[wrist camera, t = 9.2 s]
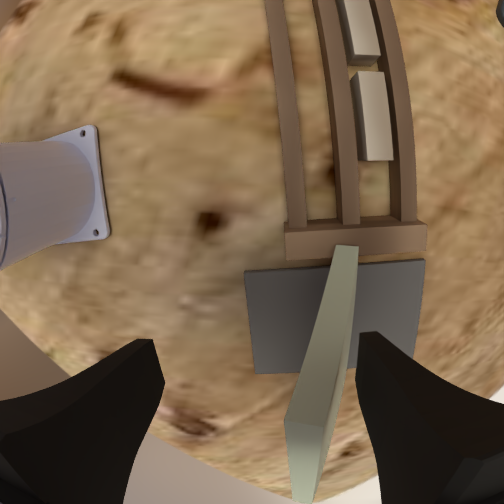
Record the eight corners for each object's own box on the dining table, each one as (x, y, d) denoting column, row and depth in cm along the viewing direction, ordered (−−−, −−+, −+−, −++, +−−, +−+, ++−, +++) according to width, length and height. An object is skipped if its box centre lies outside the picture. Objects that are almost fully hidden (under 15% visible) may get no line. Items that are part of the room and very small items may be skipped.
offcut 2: (357, 160, 18) (367, 160, 16) (348, 81, 17) (358, 71, 14) (380, 159, 18) (393, 160, 15) (372, 81, 16) (383, 72, 14)
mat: (255, 370, 23) (255, 373, 22) (244, 270, 20) (243, 273, 20) (410, 357, 21) (412, 360, 21) (423, 258, 19) (425, 260, 19)
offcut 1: (346, 66, 16) (354, 54, 14) (334, 1, 15) (339, -17, 12) (369, 66, 16) (380, 55, 14) (356, 2, 15) (364, -15, 12)
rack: (286, 245, 20) (286, 260, 17) (253, -49, 14) (248, -72, 11) (407, 237, 19) (426, 250, 16) (366, -49, 13) (375, -70, 10)
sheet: (329, 380, 22) (292, 501, 15) (336, 244, 16) (283, 420, 8) (344, 382, 22) (311, 504, 14) (358, 246, 16) (323, 427, 8)
